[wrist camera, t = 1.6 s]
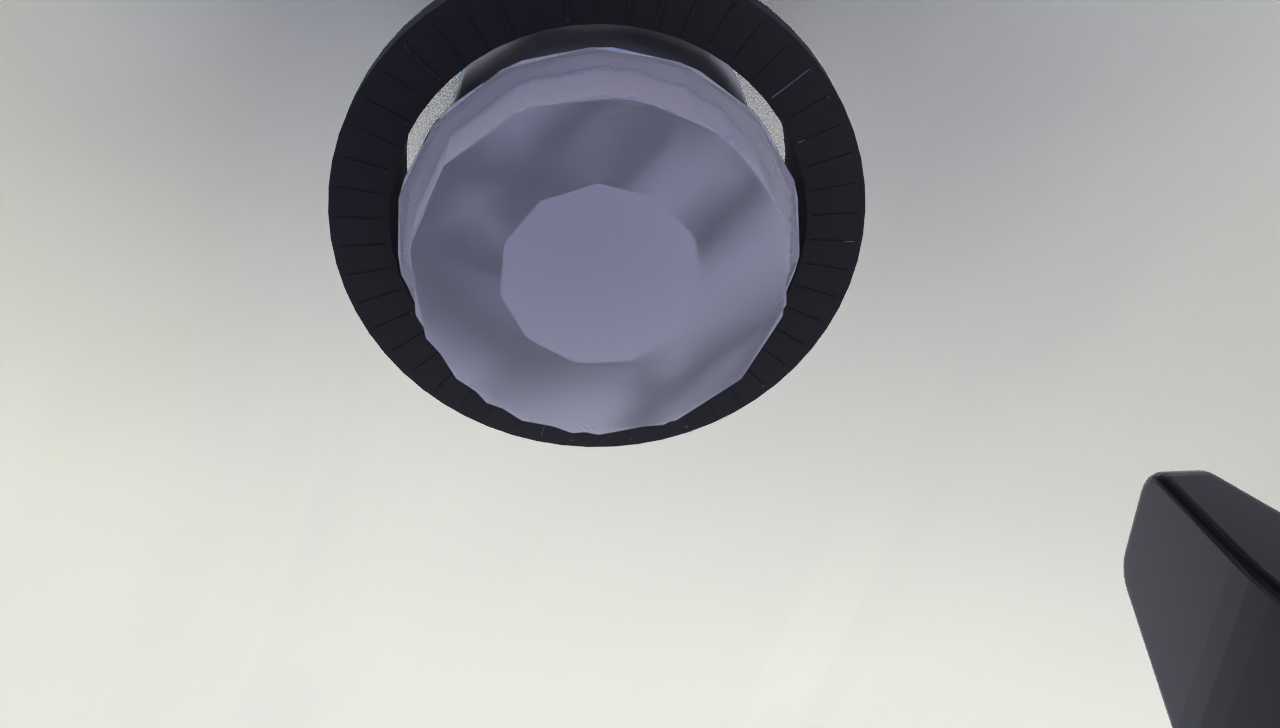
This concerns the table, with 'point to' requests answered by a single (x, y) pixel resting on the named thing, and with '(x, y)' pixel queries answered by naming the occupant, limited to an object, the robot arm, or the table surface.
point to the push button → (596, 212)
